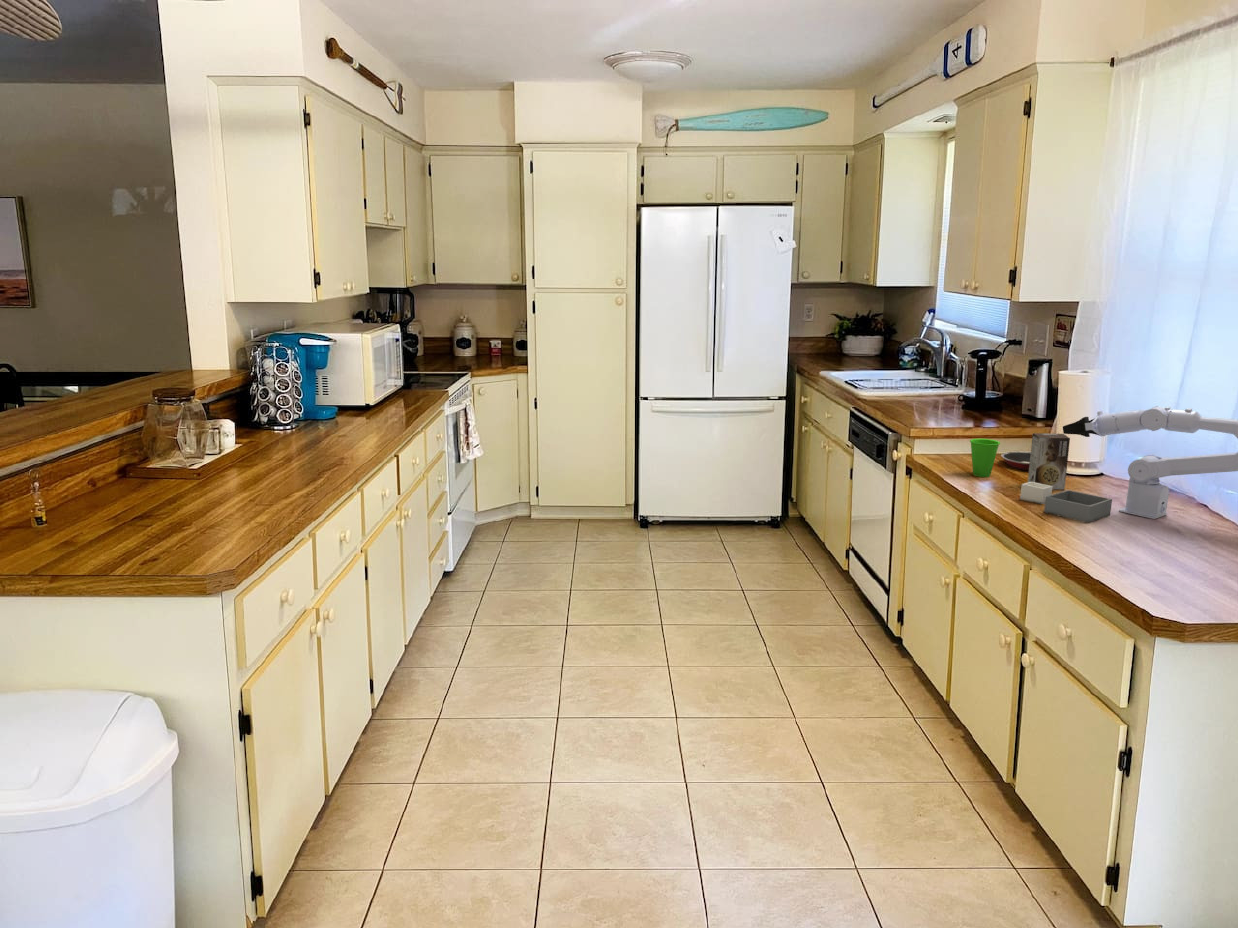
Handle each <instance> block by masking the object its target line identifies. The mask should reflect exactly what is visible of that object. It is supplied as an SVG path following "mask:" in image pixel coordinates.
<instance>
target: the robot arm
mask: <svg viewBox="0 0 1238 928" xmlns="http://www.w3.org/2000/svg"><path fill="white" fill-rule="evenodd" d="M1184 409H1185V410H1183V409H1173V408H1171V407H1170V406H1166V407H1163V406H1158V405H1157V406H1153V407H1151V408H1149V409H1140V410H1137V409H1136V410H1129V411H1121V412H1113V413H1107V414H1104V413H1103V411H1102V410H1098V411H1097V412H1096V414H1097V415H1096V417H1094V418H1092V419H1090V417H1089V416H1083V417H1081V418H1080V419H1079V420H1077V421H1075V422H1071V423H1069V424H1066V425H1063V426H1062V434H1064V435H1077V436H1078V435H1079V436H1083V437H1086V438H1089V437H1091V434H1092V435H1096V436H1100V437H1106V436H1110V435H1119V434H1126V433H1134V432H1139V431H1143V430H1144V431H1146V430H1148V431H1152V432H1156V431H1158V430H1161V429H1164V430H1165V431H1168V432H1179V433H1185V434H1187V433H1188V434H1194V433H1196V432H1197V431H1199V430H1202V431H1203V430H1204V431H1210V432H1216V433H1222V434H1223V433H1224V434H1229V435H1233V436H1235V438H1236V439H1238V419H1236V418H1235V419H1233V418H1218V417H1217V418H1216V417H1207V416H1203V415H1201V414H1200V413H1199V412H1198V411H1196V410H1195V411H1193V408H1184ZM1230 472H1232V473H1235V472H1238V451H1237V452H1228V453H1215V454H1202V455H1188V456H1176V457H1175V456H1174V457H1169V456H1163V457H1162V456H1158V455H1155V454H1147V455H1144V456H1143V457H1142V458H1139V459H1138V458H1137V459H1134V460H1132V461H1131V463H1129V465H1128V467H1127V474H1128V476H1129V480H1128V487H1127V494H1126V501H1125V507H1122V508H1121V509H1120V508H1119V509H1118V511H1119V512H1120V513H1125V514H1130V515H1133V516H1139V517H1143V518H1148V519H1153V520H1155V519H1158V518H1161V517H1164V516H1167V514H1168V513H1167V508H1168V502H1169V496H1170V490H1169V487H1168V485H1165V484H1162V483H1160V482H1161V481H1160V478H1165V477H1170V476H1184V475H1185V476H1186V475H1198V474H1200V475H1201V474H1214V473H1218V474H1219V473H1230Z"/></svg>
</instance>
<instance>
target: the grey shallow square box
mask: <svg viewBox="0 0 1238 928" xmlns="http://www.w3.org/2000/svg"><path fill="white" fill-rule="evenodd" d="M1112 504H1113V498H1108V497H1103V496H1099V495H1094V494H1091V493H1090V494H1089V493H1084V492H1079V491H1076V490H1071V489H1065V490H1063V491H1059V492H1057V493H1052V495H1050V496H1046V499H1045V503H1044V507H1043V508H1044V509H1043V513H1044V512H1045V514H1048V513H1051V514H1050V515H1052V514H1054V515H1053V516H1057V515H1059V516H1058V517H1061V516H1063V517H1062V518H1065V517H1067V518H1066V519H1070V518H1071V519H1070V520H1074V519H1075V520H1074V521H1078V520H1079V521H1080V522H1082V521H1084V522H1083V523H1087V522H1088V523H1093V522H1095V521H1098V520H1100V519H1103V518H1106V517H1109V516H1111V511H1112ZM1088 523H1087V524H1088Z"/></svg>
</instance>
